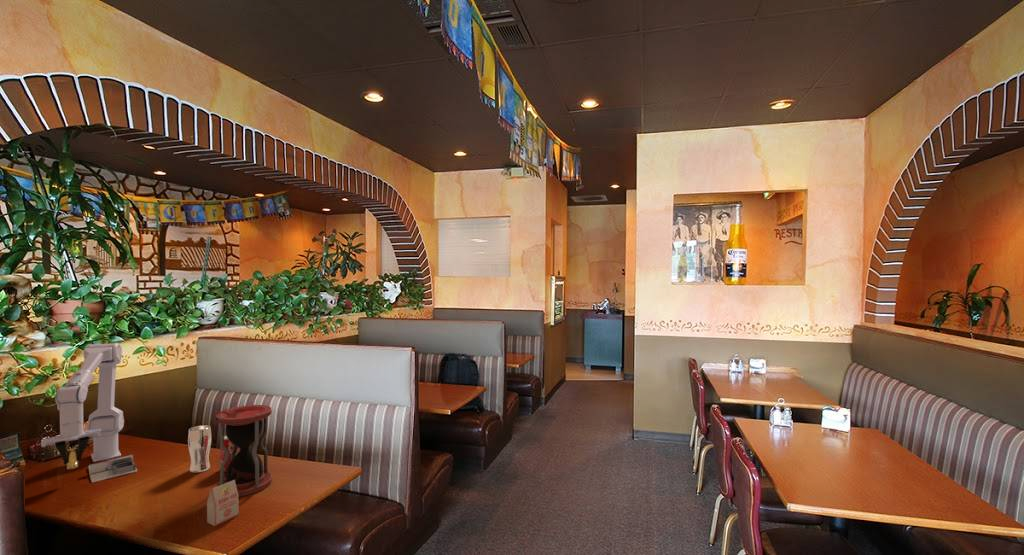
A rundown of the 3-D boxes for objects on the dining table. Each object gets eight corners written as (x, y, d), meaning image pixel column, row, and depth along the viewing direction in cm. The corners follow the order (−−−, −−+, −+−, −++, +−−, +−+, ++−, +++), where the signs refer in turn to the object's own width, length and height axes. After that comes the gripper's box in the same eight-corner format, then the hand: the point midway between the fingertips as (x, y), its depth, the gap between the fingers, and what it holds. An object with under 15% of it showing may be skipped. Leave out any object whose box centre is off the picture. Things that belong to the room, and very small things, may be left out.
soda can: (247, 465, 170) (247, 433, 170) (234, 473, 163) (233, 440, 163) (229, 464, 170) (229, 432, 170) (215, 472, 163) (215, 439, 163)
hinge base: (89, 474, 162) (89, 465, 162) (133, 464, 170) (133, 455, 170) (91, 483, 155) (91, 472, 155) (137, 471, 164) (137, 462, 164)
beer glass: (202, 473, 163) (202, 431, 162) (183, 473, 163) (183, 431, 163) (215, 465, 170) (215, 424, 169) (197, 465, 170) (197, 424, 170)
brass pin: (66, 467, 155) (66, 449, 155) (78, 464, 157) (77, 447, 157) (66, 469, 153) (66, 452, 153) (78, 467, 155) (78, 449, 155)
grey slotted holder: (88, 468, 167) (88, 458, 167) (130, 458, 176) (130, 449, 176) (90, 475, 161) (90, 465, 160) (134, 465, 169) (134, 455, 169)
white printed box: (207, 522, 131) (206, 487, 131) (231, 511, 137) (230, 478, 137) (214, 526, 129) (214, 490, 129) (238, 514, 135) (238, 481, 135)
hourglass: (255, 471, 165) (254, 401, 164) (282, 482, 156) (281, 408, 156) (206, 489, 151) (205, 413, 150) (233, 502, 142) (232, 422, 142)
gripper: (41, 430, 147) (42, 472, 147) (101, 419, 157) (102, 458, 158) (40, 424, 152) (41, 465, 152) (99, 414, 162) (100, 453, 162)
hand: (72, 461), depth 155 cm, fingers closed on brass pin, 3 cm apart
